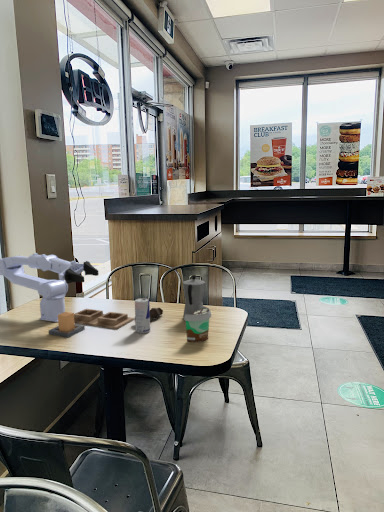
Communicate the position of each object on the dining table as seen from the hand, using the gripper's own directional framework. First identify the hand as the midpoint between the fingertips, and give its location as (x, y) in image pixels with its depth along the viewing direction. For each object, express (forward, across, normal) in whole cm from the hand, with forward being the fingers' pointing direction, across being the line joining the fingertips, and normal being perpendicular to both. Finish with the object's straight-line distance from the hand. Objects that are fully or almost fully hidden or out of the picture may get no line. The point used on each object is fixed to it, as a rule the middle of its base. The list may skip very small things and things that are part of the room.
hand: (90, 276), depth 146 cm
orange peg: (-1, -12, +18) cm, 22 cm away
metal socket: (-1, -12, +18) cm, 22 cm away
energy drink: (+24, +1, +17) cm, 29 cm away
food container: (+46, +5, +14) cm, 48 cm away
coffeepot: (+34, +22, +18) cm, 44 cm away
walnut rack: (+2, +3, +20) cm, 21 cm away
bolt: (+19, +13, +19) cm, 30 cm away
